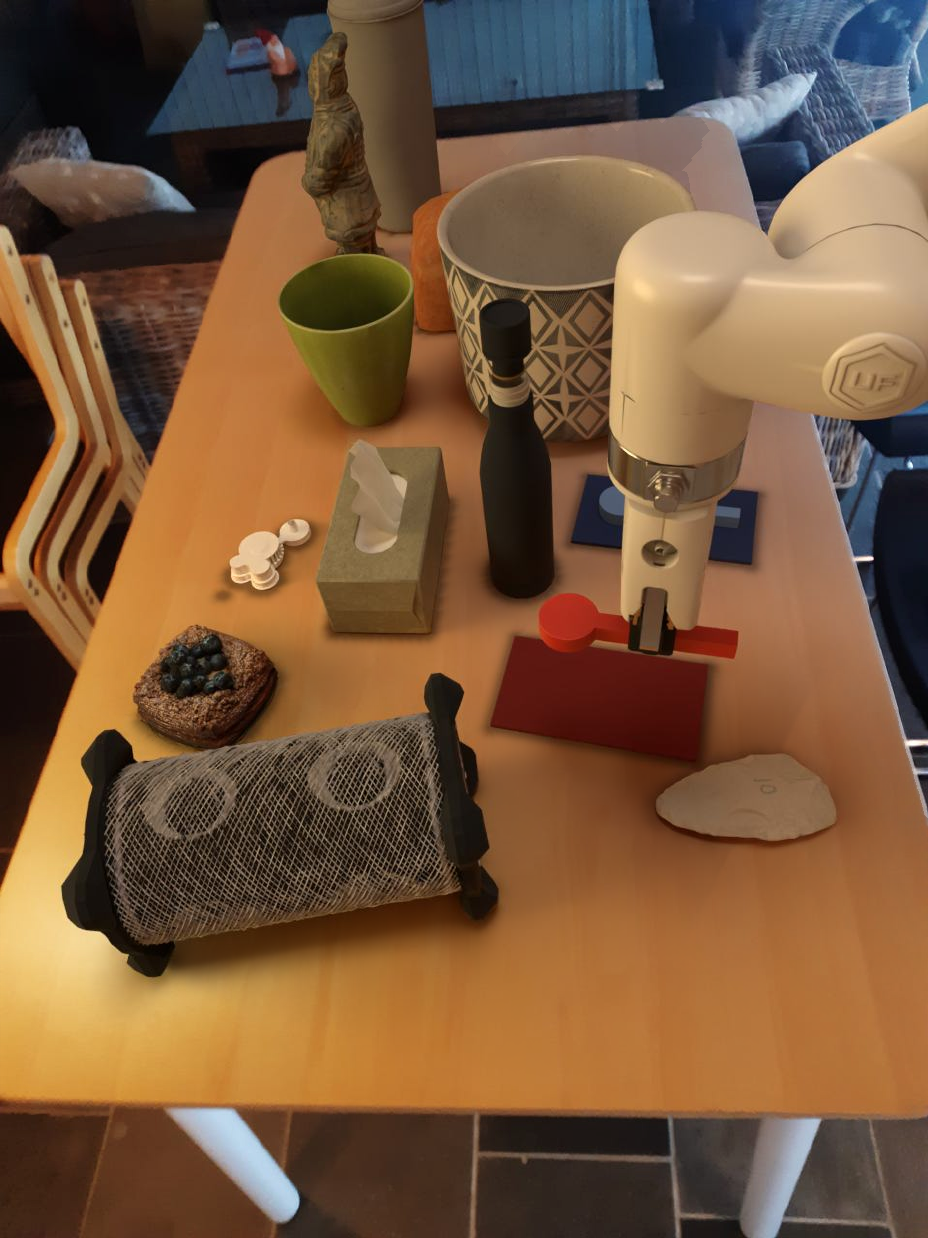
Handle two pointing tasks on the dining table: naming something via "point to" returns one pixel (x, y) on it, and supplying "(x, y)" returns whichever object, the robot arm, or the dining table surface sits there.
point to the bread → (430, 267)
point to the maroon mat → (603, 698)
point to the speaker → (278, 830)
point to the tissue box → (385, 540)
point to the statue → (339, 156)
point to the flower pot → (353, 331)
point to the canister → (392, 101)
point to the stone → (750, 800)
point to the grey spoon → (615, 502)
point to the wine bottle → (514, 459)
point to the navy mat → (724, 540)
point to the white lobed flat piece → (266, 554)
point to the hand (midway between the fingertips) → (652, 637)
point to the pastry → (206, 688)
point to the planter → (551, 273)
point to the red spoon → (618, 629)
